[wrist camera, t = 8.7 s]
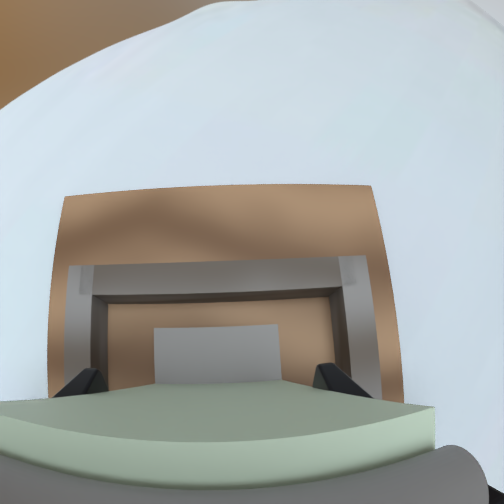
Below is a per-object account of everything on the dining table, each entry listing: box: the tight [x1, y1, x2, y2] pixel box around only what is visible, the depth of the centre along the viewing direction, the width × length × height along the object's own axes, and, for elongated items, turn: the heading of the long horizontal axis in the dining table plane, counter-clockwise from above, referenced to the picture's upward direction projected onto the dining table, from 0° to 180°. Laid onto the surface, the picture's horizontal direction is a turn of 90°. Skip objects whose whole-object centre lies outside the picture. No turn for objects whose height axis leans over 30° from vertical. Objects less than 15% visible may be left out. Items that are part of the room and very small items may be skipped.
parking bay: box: [47, 184, 404, 403], centre depth 14 cm, size 22×20×3 cm
